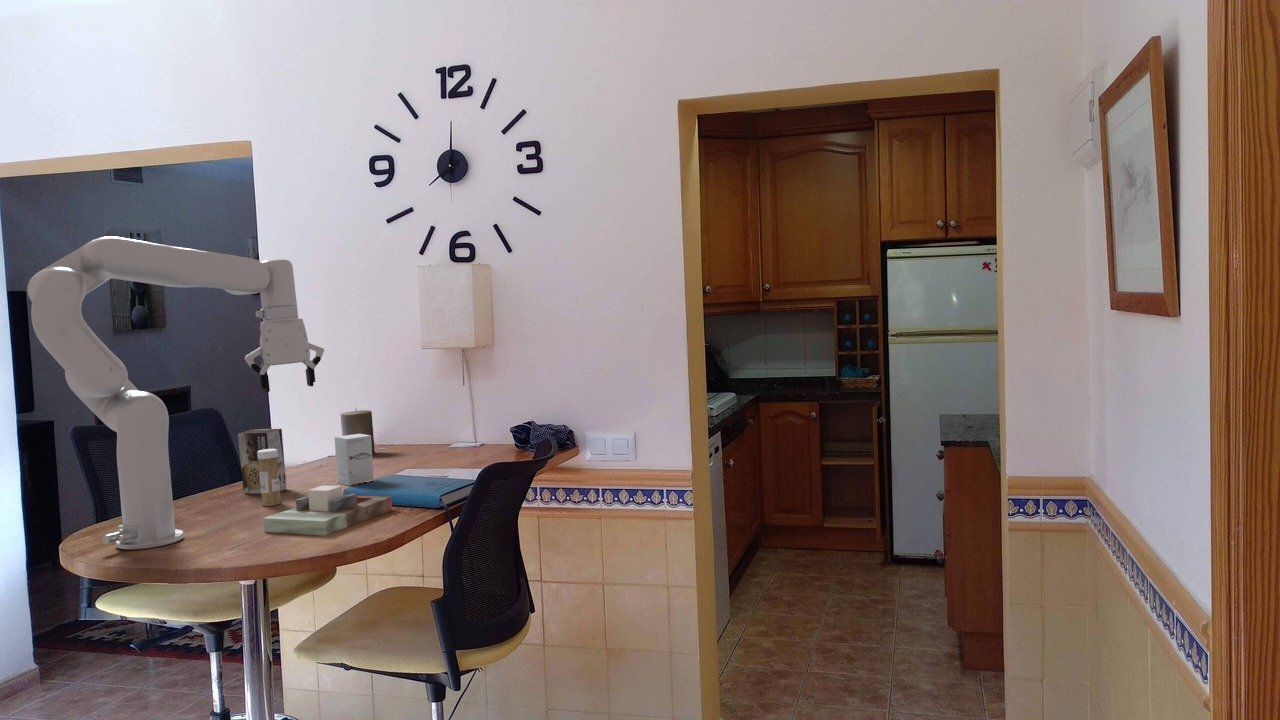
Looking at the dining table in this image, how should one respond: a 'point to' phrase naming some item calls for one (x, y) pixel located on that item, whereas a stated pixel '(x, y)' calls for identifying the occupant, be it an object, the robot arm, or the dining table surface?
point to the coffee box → (249, 460)
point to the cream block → (323, 497)
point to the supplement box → (354, 459)
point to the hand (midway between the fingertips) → (289, 388)
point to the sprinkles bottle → (269, 477)
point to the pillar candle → (358, 424)
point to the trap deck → (327, 515)
